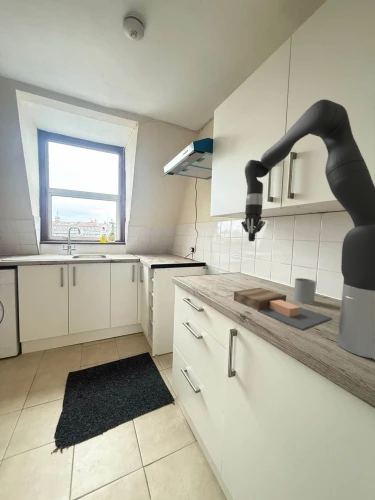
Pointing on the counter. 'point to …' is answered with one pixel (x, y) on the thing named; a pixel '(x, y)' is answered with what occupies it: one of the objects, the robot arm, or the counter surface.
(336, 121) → the robot arm
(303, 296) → the cup
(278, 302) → the orange rectangular block
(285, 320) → the mat
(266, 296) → the block
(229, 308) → the counter surface
